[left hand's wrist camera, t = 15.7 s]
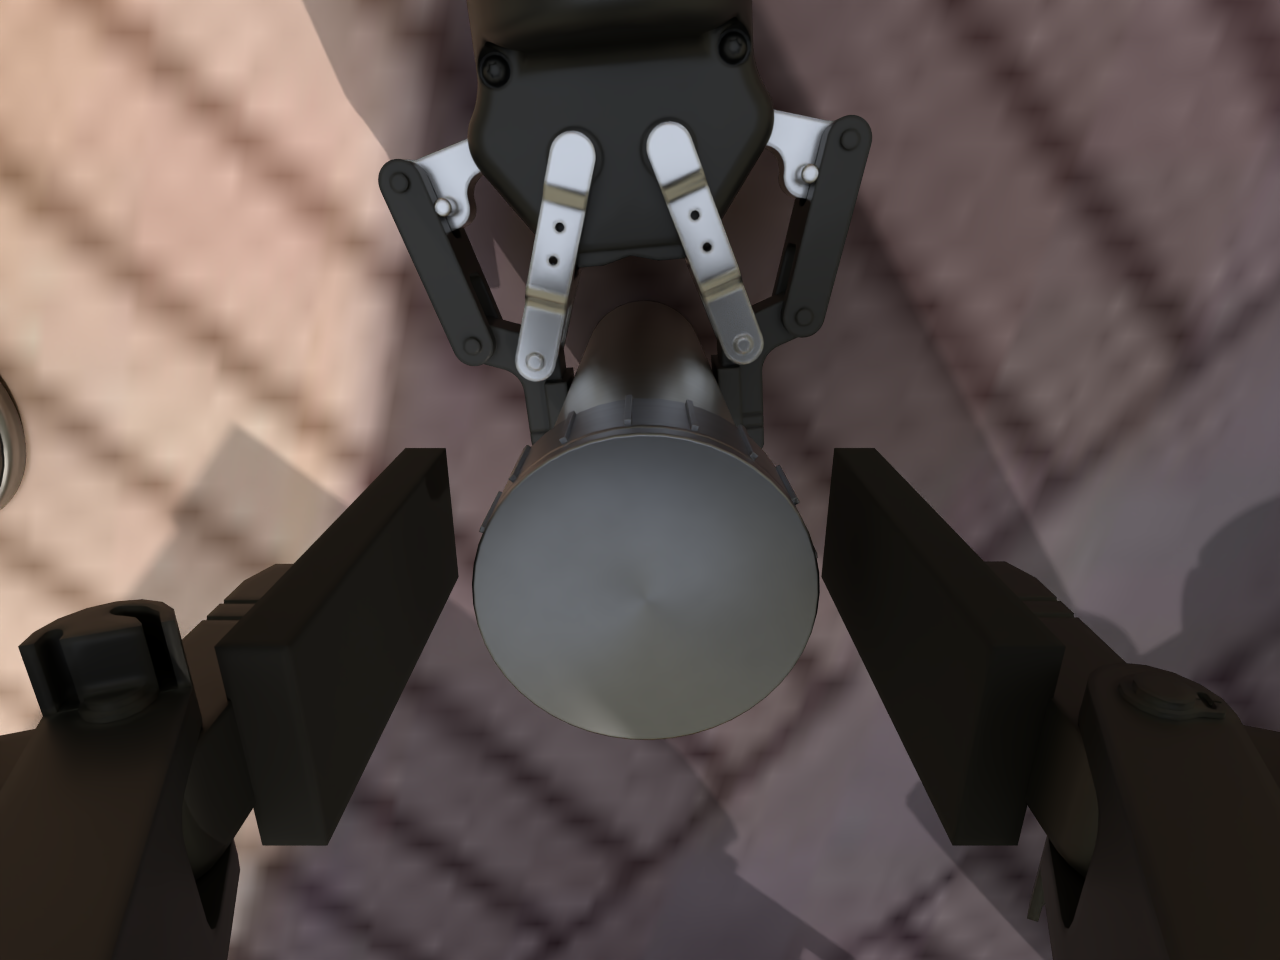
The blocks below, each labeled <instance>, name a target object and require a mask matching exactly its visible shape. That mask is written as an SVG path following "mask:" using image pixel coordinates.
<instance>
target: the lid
mask: <svg viewBox="0 0 1280 960" xmlns="http://www.w3.org/2000/svg"><path fill="white" fill-rule="evenodd" d="M798 503H799V500H798V498H797V496H796V494H795V493H794V491H793V489H792V487H791V485H790V483H789V481H788V479H787V478H786V476H785V474H784V472H783V470H782V468H781V467H780V465H778V466H777V467H775V466H774V465H773V463H772V462H771V460H770V459H769V458H768V456H767V455H766V453H765V452H764V451H763V450H762V449H761V448H760V447H759V446H758V445H757V444H756V443H755V441H754V440H753V439H752V438H750V437H749V435H748V432H747V430H746V428H745V427H744V426H743V425H741V424H740V425H739V427H737V426H735V425H734V424H732V423H730V422H729V421H727V420H725V419H724V418H722V417H720V416H718V415H716V414H714V413H712V412H709V411H707V410H705V409H702V408H700V407H696V406H694V405H693V401H691V400H686V403H683V402H678V401H671V400H665V399H648V398H637V399H633V397H632V395H626V400H618V401H614V402H610V403H605V404H601V405H597V406H595V407H592V408H589V409H587V410H584V411H581V412H579V413H577V414H576V413H575V411H571V412H569V413H568V416H567V419H566V420H564V421H562V422H560V423H559V424H558V425H556V426H555V427H553V428H552V429H551V430H549V431H548V432H547V433H545V434H544V435H543V436H542V437H541V438H540V439H539V440H538V441H537V442H536V443H535V444H534V445H532V446H531V447H530V446H529V445H526V446H525V448H524V449H523V451H522V453H521V455H520V457H519V459H518V461H517V463H516V465H515V467H514V469H513V471H512V473H511V475H510V477H509V480H508V482H507V484H506V486H505V488H504V490H503V492H500V491H499V492H498V494H497V496H496V498H495V500H494V502H493V504H492V506H491V508H490V510H489V512H488V514H487V516H486V518H485V520H484V522H483V524H482V525H481V528H480V532H481V533H483V534H482V537H481V539H480V542H479V545H478V549H477V553H476V557H475V561H474V567H473V579H472V592H473V605H474V610H475V615H476V620H477V624H478V627H479V629H480V632H481V635H482V638H483V640H484V643H485V645H486V647H487V649H488V651H489V652H490V654H491V656H492V658H493V660H494V662H495V663H496V664H497V666H498V667H499V668H500V670H501V671H502V673H503V674H504V675H505V677H506V678H507V679H508V680H509V681H510V682H511V683H512V684H513V685H514V686H515V687H516V689H517V690H518V691H519V692H520V693H522V694H523V695H524V696H525V697H526V698H528V699H529V700H530V701H531V702H532V703H534V704H535V705H536V706H538V707H540V708H541V709H543V710H544V711H546V712H547V713H549V714H550V715H552V716H554V717H556V718H558V719H560V720H562V721H564V722H566V723H568V724H570V725H573V726H576V727H578V728H581V729H584V730H587V731H589V732H593V733H597V734H602V735H606V736H610V737H617V738H625V739H640V740H655V739H667V738H675V737H680V736H686V735H691V734H695V733H698V732H701V731H705V730H708V729H711V728H714V727H716V726H718V725H721V724H723V723H725V722H728V721H730V720H732V719H734V718H736V717H737V716H739V715H741V714H743V713H744V712H746V711H748V710H749V709H751V708H752V707H754V706H755V705H756V704H758V703H759V702H760V701H762V700H763V699H764V698H766V697H767V696H768V695H769V694H770V693H771V692H772V691H773V690H774V689H775V688H776V687H777V686H778V685H779V684H780V683H781V682H782V681H783V680H784V678H785V677H786V676H787V675H788V673H789V672H790V671H791V670H792V669H793V667H794V665H795V664H796V662H797V661H798V659H799V657H800V656H801V654H802V652H803V651H804V648H805V646H806V644H807V642H808V639H809V637H810V635H811V632H812V629H813V625H814V622H815V618H816V615H817V609H818V601H819V593H820V590H819V569H818V563H817V558H818V557H817V552H816V550H815V548H814V546H813V543H812V540H811V537H810V534H809V532H808V530H807V528H806V526H805V524H804V522H803V520H802V518H801V516H800V514H799V512H798V510H797V508H796V506H795V505H796V504H798Z"/></svg>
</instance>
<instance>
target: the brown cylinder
mask: <svg viewBox="0 0 1280 960" xmlns="http://www.w3.org/2000/svg"><path fill="white" fill-rule="evenodd" d="M626 395H632V397H633V399H637V398H648V399H665V400H671V401H678V402H683V403H686V400H691V401H693V405H694V406H696V407H700V408H702V409H705V410H707V411H709V412H712V413H714V414H716V415H718V416H720V417H722V418H724V419H725V420H727V421H729V422H730V423H732V424H734V421H733V419H732V417H731V414H730V412H729V410H728V407H727V405H726V403H725V400H724V398H723V396H722V393H721V391H720V389H719V386H718V384H717V382H716V379H715V377H714V374H713V372H712V370H711V367H710V365H709V363H708V360H707V358H706V356H705V353H704V351H703V349H702V346H701V344H700V342H699V339H698V337H697V335H696V333H695V331H694V329H693V327H692V326H691V324H690V323H689V322H688V321H687V320H686V319H685V317H684V316H682V315H681V314H680V313H679V312H677V311H676V310H674V309H673V308H671V307H669V306H667V305H664V304H661V303H658V302H652V301H636V302H631V303H627V304H624V305H622V306H619V307H617V308H616V309H614V310H612V311H611V312H609V313H608V314H607V315H606V316H605V317H604V318H603V319H602V320H601V321H600V322H599V323H598V325H597V326H596V328H595V329H594V331H593V333H592V335H591V337H590V340H589V342H588V345H587V347H586V350H585V352H584V355H583V357H582V359H581V362H580V364H579V367H578V369H577V372H576V374H575V377H574V379H573V382H572V384H571V387H570V389H569V391H568V394H567V396H566V399H565V401H564V404H563V406H562V409H561V411H560V414H559V416H558V418H557V421H556V423H555V426H556V425H558V424H559V423H560V422H562V421H564V420H566V419H567V416H568V413H569V412H571V411H575V413H576V414H577V413H579V412H581V411H584V410H587V409H589V408H592V407H595V406H597V405H601V404H605V403H610V402H614V401H618V400H626ZM734 425H735V424H734ZM555 426H554V427H555Z"/></svg>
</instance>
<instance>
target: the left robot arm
mask: <svg viewBox="0 0 1280 960" xmlns="http://www.w3.org/2000/svg"><path fill="white" fill-rule="evenodd" d="M457 579H458V567H457V557H456V547H455V537H454V527H453V517H452V507H451V497H450V487H449V477H448V467H447V457H446V448H405V449H404V450H403V451H402V452H401V453H400V454H399V455H398V456H397V457H396V458H395V460H394V461H393V462H392V463H391V464H390V465H389V466H388V467H387V468H386V469H385V470H384V471H383V472H382V473H381V474H380V475H379V476H378V477H377V478H376V479H375V480H374V481H373V482H372V483H371V484H370V485H369V486H368V488H367V489H366V490H365V491H364V492H363V493H362V494H361V495H360V496H359V497H358V498H357V499H356V500H355V501H354V502H353V503H352V504H351V505H350V506H349V507H348V508H347V509H346V510H345V511H344V512H343V513H342V514H341V516H340V517H339V518H338V519H337V520H336V521H335V522H334V523H333V524H332V525H331V526H330V527H329V528H328V529H327V530H326V531H325V532H324V533H323V534H322V535H321V536H320V537H319V538H318V539H317V540H316V541H315V542H314V544H313V545H312V546H311V547H310V548H309V549H308V550H307V551H306V552H305V553H304V554H303V555H302V556H301V557H300V558H299V559H298V560H297V561H296V562H295V563H294V564H275V565H273V566H271V567H269V568H267V569H265V570H263V571H261V572H260V573H258V574H256V575H254V576H252V577H250V578H248V579H246V580H245V581H243V582H242V583H241V584H240V585H239V586H238V587H237V588H236V589H235V590H234V591H233V592H232V593H231V594H230V595H229V596H228V597H227V598H226V599H224V604H219V605H218V606H217V607H216V608H215V609H214V610H213V611H212V612H211V613H210V614H209V615H208V616H207V620H202V621H201V622H200V623H199V624H198V625H197V626H196V627H195V628H194V629H193V630H192V631H191V632H190V633H189V634H188V635H187V636H186V637H184V638H183V639H181V635H180V631H179V628H178V624H177V620H176V616H175V612H174V609H173V608H171V607H170V606H168V605H166V604H165V603H163V602H159V601H151V600H143V599H141V600H129V601H117V602H112V603H108V604H103V605H99V606H94V607H90V608H86V609H83V610H81V611H78V612H75V613H73V614H70V615H67V616H64V617H62V618H59V619H57V620H55V621H53V622H52V623H50V624H48V625H46V626H44V627H42V628H41V629H39V630H37V631H35V632H34V633H32V634H31V635H30V636H29V637H28V638H27V639H26V640H25V641H24V642H23V643H22V644H20V645H19V646H18V647H19V650H20V653H21V656H22V659H23V661H24V664H25V667H26V670H27V673H28V676H29V678H30V681H31V684H32V687H33V690H34V692H35V695H36V698H37V701H38V704H39V706H40V709H41V712H42V715H43V717H42V719H41V721H40V722H39V724H38V726H37V728H36V729H32V730H27V731H22V732H17V733H12V734H6V735H1V736H0V960H227V958H228V951H229V944H230V937H231V930H232V923H233V916H234V909H235V902H236V895H237V888H238V881H239V874H240V866H239V859H238V853H237V850H236V846H235V842H234V837H235V835H236V834H237V832H238V831H239V829H240V828H241V826H242V824H243V823H244V821H245V820H246V818H247V817H248V815H249V813H250V812H251V810H252V809H253V808H254V812H255V816H256V820H257V825H258V829H259V833H260V837H261V841H262V845H328V843H329V841H330V839H331V837H332V835H333V833H334V831H335V829H336V827H337V825H338V823H339V820H340V818H341V816H342V814H343V812H344V810H345V808H346V806H347V804H348V802H349V800H350V798H351V796H352V794H353V792H354V790H355V788H356V786H357V784H358V782H359V779H360V777H361V775H362V773H363V771H364V769H365V767H366V765H367V763H368V761H369V759H370V757H371V755H372V753H373V751H374V749H375V747H376V745H377V743H378V741H379V739H380V736H381V734H382V732H383V730H384V728H385V726H386V724H387V722H388V720H389V718H390V716H391V714H392V712H393V710H394V708H395V706H396V704H397V702H398V700H399V698H400V696H401V693H402V691H403V689H404V687H405V685H406V683H407V681H408V679H409V677H410V675H411V673H412V671H413V669H414V667H415V665H416V663H417V661H418V659H419V657H420V655H421V653H422V650H423V648H424V646H425V644H426V642H427V640H428V638H429V636H430V634H431V632H432V630H433V628H434V626H435V624H436V622H437V620H438V618H439V616H440V614H441V612H442V610H443V607H444V605H445V603H446V601H447V599H448V597H449V595H450V593H451V591H452V589H453V587H454V585H455V583H456V581H457ZM822 579H823V581H824V583H825V585H826V587H827V589H828V591H829V593H830V595H831V597H832V599H833V601H834V603H835V605H836V607H837V610H838V612H839V614H840V616H841V618H842V620H843V622H844V624H845V626H846V628H847V630H848V632H849V634H850V636H851V638H852V640H853V642H854V644H855V646H856V648H857V650H858V653H859V655H860V657H861V659H862V661H863V663H864V665H865V667H866V669H867V671H868V673H869V675H870V677H871V679H872V681H873V683H874V685H875V687H876V689H877V691H878V693H879V696H880V698H881V700H882V702H883V704H884V706H885V708H886V710H887V712H888V714H889V716H890V718H891V720H892V722H893V724H894V726H895V728H896V730H897V732H898V734H899V736H900V739H901V741H902V743H903V745H904V747H905V749H906V751H907V753H908V755H909V757H910V759H911V761H912V763H913V765H914V767H915V769H916V771H917V773H918V775H919V777H920V779H921V782H922V784H923V786H924V788H925V790H926V792H927V794H928V796H929V798H930V800H931V802H932V804H933V806H934V808H935V810H936V812H937V814H938V816H939V818H940V820H941V823H942V825H943V827H944V829H945V831H946V833H947V835H948V837H949V839H950V841H951V843H952V845H1018V841H1019V837H1020V833H1021V829H1022V825H1023V820H1024V816H1025V812H1026V808H1027V805H1028V807H1029V808H1030V810H1031V811H1032V813H1033V814H1034V816H1035V817H1036V819H1037V820H1038V822H1039V824H1040V825H1041V827H1042V828H1043V830H1044V831H1045V833H1046V834H1047V838H1046V842H1045V846H1044V850H1043V853H1042V857H1041V861H1040V865H1039V869H1038V873H1037V876H1036V880H1035V884H1034V888H1033V892H1032V896H1031V899H1030V903H1029V910H1028V916H1027V919H1030V920H1034V921H1037V922H1038V920H1039V916H1040V913H1041V909H1042V906H1043V905H1044V904H1045V907H1046V914H1047V921H1048V928H1049V935H1050V942H1051V949H1052V956H1053V960H1280V732H1276V731H1271V730H1266V729H1261V728H1255V727H1250V726H1245V725H1243V724H1242V723H1241V721H1240V719H1239V717H1238V716H1237V714H1236V713H1235V712H1234V711H1233V710H1232V709H1231V708H1230V707H1229V705H1228V704H1227V703H1226V702H1225V701H1224V700H1223V699H1222V698H1220V697H1219V696H1217V695H1216V694H1214V693H1213V692H1211V691H1210V690H1208V689H1207V688H1205V687H1203V686H1202V685H1200V684H1198V683H1196V682H1194V681H1191V680H1189V679H1187V678H1184V677H1182V676H1180V675H1178V674H1175V673H1173V672H1169V671H1165V670H1162V669H1158V668H1154V667H1150V666H1147V665H1139V664H1128V663H1126V662H1125V661H1124V660H1123V659H1122V658H1121V657H1119V656H1118V655H1117V654H1116V653H1115V652H1114V651H1113V650H1112V649H1111V648H1110V647H1109V646H1108V645H1107V644H1106V643H1105V642H1104V641H1102V640H1101V639H1100V638H1099V637H1098V636H1097V635H1096V634H1095V633H1094V632H1093V631H1092V630H1091V629H1090V628H1089V627H1088V626H1087V625H1085V624H1084V623H1083V622H1082V621H1081V620H1080V619H1079V618H1074V613H1073V612H1072V611H1071V610H1070V609H1068V608H1067V607H1066V606H1065V605H1064V604H1063V603H1062V602H1061V601H1057V597H1056V596H1055V595H1054V594H1053V593H1051V592H1050V591H1049V590H1048V589H1047V588H1046V587H1045V586H1044V585H1043V584H1042V583H1041V582H1040V581H1039V580H1038V579H1037V578H1035V577H1033V576H1031V575H1029V574H1028V573H1026V572H1024V571H1022V570H1020V569H1018V568H1016V567H1014V566H1012V565H1010V564H1009V563H1007V562H984V561H983V560H982V559H981V558H980V557H979V556H978V555H977V554H976V553H975V552H974V551H973V550H972V549H971V548H970V547H969V546H968V545H967V544H966V542H965V541H964V540H963V539H962V538H961V537H960V536H959V535H958V534H957V533H956V532H955V531H954V530H953V529H952V528H951V527H950V526H949V525H948V524H947V523H946V522H945V521H944V520H943V519H942V518H941V517H940V516H939V514H938V513H937V512H936V511H935V510H934V509H933V508H932V507H931V506H930V505H929V504H928V503H927V502H926V501H925V500H924V499H923V498H922V497H921V496H920V495H919V494H918V493H917V492H916V491H915V490H914V489H913V488H912V486H911V485H910V484H909V483H908V482H907V481H906V480H905V479H904V478H903V477H902V476H901V475H900V474H899V473H898V472H897V471H896V470H895V469H894V468H893V467H892V466H891V465H890V464H889V463H888V462H887V461H886V460H885V458H884V457H883V456H882V455H881V454H880V453H879V452H878V451H877V450H876V449H875V448H834V457H833V467H832V477H831V487H830V497H829V507H828V517H827V527H826V537H825V547H824V557H823V567H822Z"/></svg>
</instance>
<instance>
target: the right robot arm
mask: <svg viewBox="0 0 1280 960" xmlns="http://www.w3.org/2000/svg"><path fill="white" fill-rule="evenodd" d="M467 7H468V14H469V21H470V28H471V35H472V42H473V49H474V56H475V63H476V70H477V79H478V90H477V99H476V104H475V108H474V112H473V115H472V117H471V120H470V123H469V127H468V139H466V140H463V141H461V142H458V143H456V144H454V145H451V146H449V147H446V148H444V149H441V150H439V151H437V152H434V153H432V154H429V155H427V156H425V157H422V158H420V159H417V160H402V159H394V160H390V161H388V162H387V163H385V164H384V165H383V167H382V168H381V170H380V173H379V178H378V182H379V188H380V190H381V193H382V195H383V197H384V199H385V201H386V204H387V206H388V208H389V210H390V212H391V215H392V217H393V219H394V221H395V223H396V226H397V228H398V230H399V232H400V234H401V237H402V239H403V241H404V243H405V245H406V248H407V250H408V252H409V254H410V256H411V259H412V261H413V263H414V265H415V267H416V270H417V272H418V274H419V276H420V278H421V280H422V283H423V285H424V287H425V289H426V291H427V294H428V296H429V298H430V300H431V302H432V305H433V307H434V309H435V311H436V313H437V316H438V318H439V320H440V322H441V324H442V327H443V329H444V331H445V333H446V335H447V338H448V340H449V342H450V344H451V346H452V349H453V351H454V353H455V355H456V356H457V358H458V359H459V360H460V361H461V362H463V363H464V364H467V365H470V366H479V365H482V364H486V365H490V366H493V367H497V368H501V369H504V370H507V371H509V372H511V373H513V374H514V375H515V376H516V377H517V378H518V379H519V380H520V381H521V383H522V385H523V388H524V392H525V399H526V406H527V413H528V420H529V427H530V432H531V441H532V445H534V444H535V443H536V442H537V441H538V440H539V439H540V438H541V437H542V436H543V435H544V434H545V433H547V432H548V431H549V430H551V429H552V428H553V427H554V426H555V423H556V421H557V418H558V416H559V414H560V411H561V409H562V406H563V404H564V401H565V399H566V396H567V394H568V391H569V389H570V387H571V384H572V382H573V379H574V372H573V367H572V368H566V363H565V355H564V346H565V341H566V336H567V332H568V327H569V322H570V317H571V312H572V308H573V303H574V299H575V296H576V292H577V288H578V283H579V279H580V274H581V269H582V267H590V266H602V265H606V264H609V263H611V262H614V261H617V260H619V259H622V258H624V257H627V256H637V257H643V258H648V259H653V260H670V259H681V258H684V259H685V261H686V264H687V266H688V269H689V271H690V274H691V276H692V279H693V281H694V284H695V286H696V288H697V291H698V293H699V296H700V298H701V301H702V303H703V306H704V308H705V311H706V313H707V316H708V318H709V321H710V323H711V326H712V329H713V331H714V334H715V336H716V339H717V351H718V355H711V362H712V372H713V374H714V377H715V379H716V382H717V384H718V386H719V389H720V391H721V393H722V396H723V398H724V400H725V403H726V405H727V407H728V410H729V412H730V414H731V417H732V419H733V421H734V424H735V426H737V427H739V425H740V424H741V425H743V426H744V427H745V428H746V430H747V432H748V435H749V437H750V438H752V439H753V440H754V441H755V443H756V444H757V445H758V446H759V447H760V448H761V449H762V448H763V445H764V429H763V393H762V366H763V362H764V360H765V358H766V356H767V355H768V353H769V352H770V351H771V350H773V349H774V348H775V347H777V346H779V345H781V344H784V343H786V342H788V341H790V340H792V339H795V338H797V337H808V336H811V335H813V334H815V333H816V332H817V331H818V330H819V329H820V328H821V326H822V324H823V322H824V318H825V314H826V311H827V307H828V303H829V300H830V296H831V292H832V288H833V285H834V281H835V277H836V273H837V270H838V266H839V262H840V258H841V255H842V251H843V247H844V244H845V240H846V236H847V232H848V229H849V225H850V221H851V217H852V214H853V210H854V206H855V202H856V199H857V195H858V191H859V188H860V184H861V180H862V176H863V173H864V169H865V165H866V161H867V158H868V154H869V150H870V146H871V142H872V132H871V128H870V126H869V124H868V123H867V122H866V121H865V120H864V119H863V118H861V117H859V116H856V115H848V116H844V117H842V118H840V119H837V120H835V121H827V120H822V119H817V118H812V117H807V116H802V115H798V114H793V113H788V112H783V111H778V110H774V107H773V103H772V100H771V97H770V95H769V93H768V91H767V90H766V88H765V86H764V84H763V82H762V80H761V78H760V76H759V73H758V70H757V67H756V63H755V58H754V51H753V25H752V0H467ZM764 149H767V150H769V151H770V152H771V153H772V154H773V155H774V156H775V157H776V159H777V162H778V165H779V175H778V181H779V185H780V188H781V189H782V191H783V192H784V193H785V194H786V195H787V196H789V197H792V198H795V202H794V206H793V210H792V215H791V219H790V223H789V227H788V231H787V235H786V240H785V244H784V248H783V252H782V256H781V260H780V265H779V269H778V273H777V277H776V281H775V285H774V290H773V294H772V297H770V298H767V299H765V300H763V301H761V302H759V303H757V304H754V305H752V306H751V304H750V301H749V299H748V296H747V293H746V291H745V288H744V285H743V282H742V277H741V274H740V270H739V267H738V265H737V262H736V259H735V257H734V254H733V251H732V249H731V246H730V243H729V240H728V238H727V235H726V232H725V230H724V227H723V224H722V222H721V219H722V218H723V216H724V214H725V213H726V211H727V209H728V208H729V206H730V204H731V203H732V201H733V199H734V198H735V196H736V195H737V193H738V191H739V190H740V188H741V186H742V185H743V183H744V181H745V180H746V178H747V176H748V175H749V173H750V171H751V170H752V168H753V166H754V165H755V163H756V161H757V160H758V158H759V156H760V155H761V153H762V152H763V150H764ZM483 175H484V176H485V177H486V178H487V179H488V181H489V182H490V183H491V184H492V185H493V186H494V188H495V189H496V190H497V191H498V192H499V193H500V195H501V196H502V197H503V198H504V199H505V200H506V201H507V203H508V204H509V205H510V206H511V207H512V208H513V210H514V211H515V212H516V213H517V214H518V215H519V216H520V218H521V219H522V220H523V221H524V222H525V223H526V225H527V226H528V227H529V228H530V229H531V230H532V231H533V233H534V234H535V235H536V236H535V241H534V247H533V252H532V258H531V263H530V268H529V274H528V279H527V285H526V292H525V299H526V301H525V308H524V313H523V319H522V324H521V325H520V324H517V323H513V322H509V321H506V320H503V319H502V316H501V314H500V312H499V309H498V307H497V305H496V302H495V300H494V298H493V295H492V293H491V290H490V288H489V286H488V283H487V281H486V279H485V276H484V274H483V272H482V269H481V267H480V265H479V262H478V260H477V258H476V255H475V253H474V250H473V248H472V246H471V243H470V241H469V239H468V236H467V234H466V232H465V229H464V228H465V227H467V226H469V225H470V224H471V223H472V222H473V220H474V218H475V216H476V203H475V199H474V188H475V185H476V183H477V181H478V180H479V179H480V177H482V176H483ZM25 463H26V444H25V437H24V432H23V428H22V424H21V421H20V418H19V415H18V413H17V410H16V408H15V406H14V404H13V402H12V400H11V398H10V396H9V395H8V393H7V391H6V390H5V388H4V387H3V385H2V383H1V382H0V510H1V509H2V508H3V507H4V506H5V505H6V504H7V503H8V502H9V501H10V500H11V499H12V497H13V496H14V494H15V493H16V491H17V489H18V487H19V485H20V483H21V480H22V477H23V474H24V469H25Z"/></svg>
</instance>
